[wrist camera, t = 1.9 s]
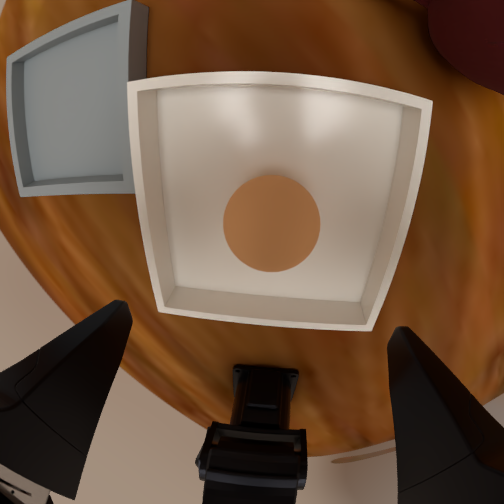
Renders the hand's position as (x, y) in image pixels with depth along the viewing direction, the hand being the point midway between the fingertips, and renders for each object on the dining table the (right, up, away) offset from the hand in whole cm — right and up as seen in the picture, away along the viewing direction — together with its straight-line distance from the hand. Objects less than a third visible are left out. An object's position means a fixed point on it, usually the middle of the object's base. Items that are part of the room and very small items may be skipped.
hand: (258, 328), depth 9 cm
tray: (-13, +13, +6) cm, 19 cm away
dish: (+1, +5, +9) cm, 10 cm away
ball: (+1, +4, +6) cm, 7 cm away
